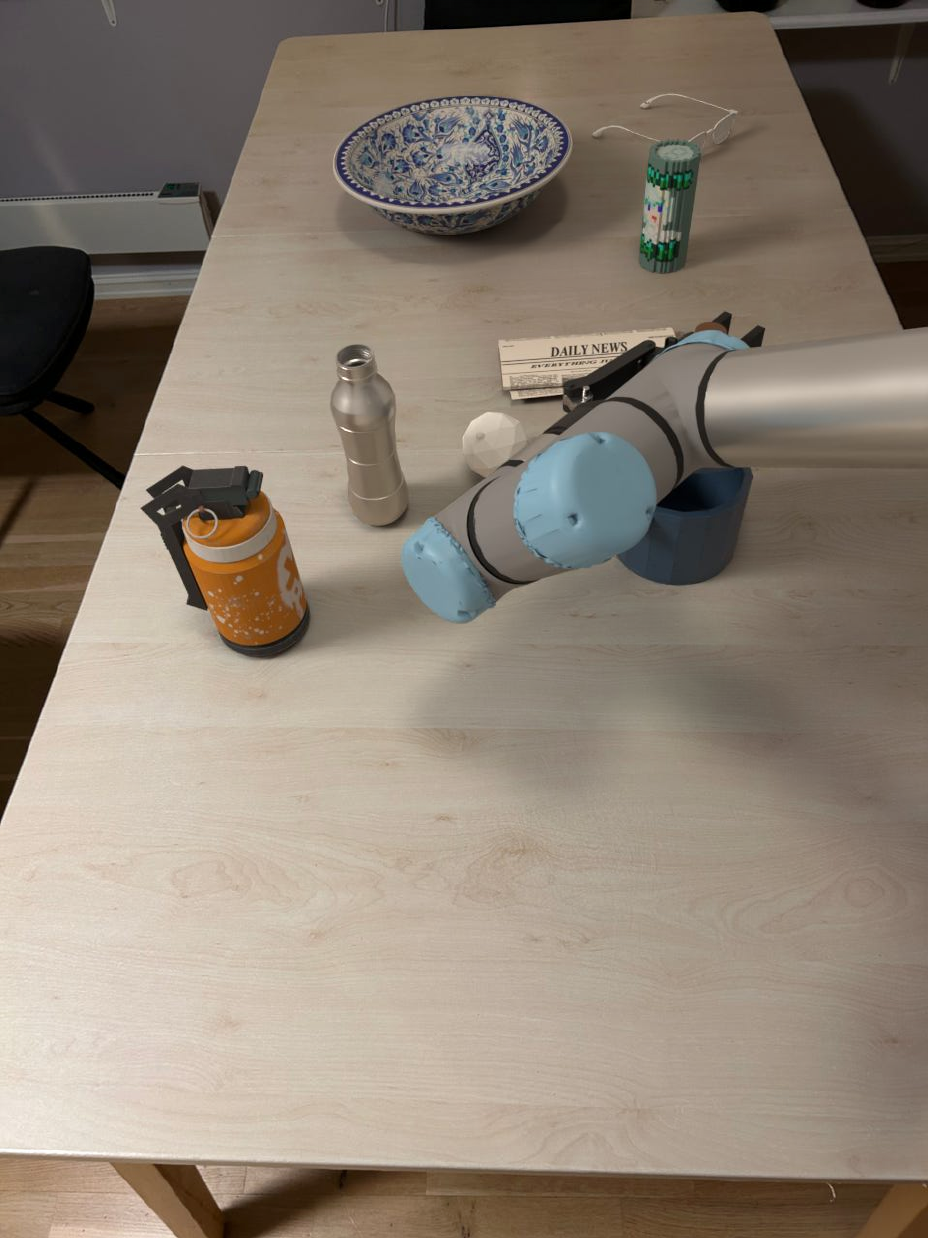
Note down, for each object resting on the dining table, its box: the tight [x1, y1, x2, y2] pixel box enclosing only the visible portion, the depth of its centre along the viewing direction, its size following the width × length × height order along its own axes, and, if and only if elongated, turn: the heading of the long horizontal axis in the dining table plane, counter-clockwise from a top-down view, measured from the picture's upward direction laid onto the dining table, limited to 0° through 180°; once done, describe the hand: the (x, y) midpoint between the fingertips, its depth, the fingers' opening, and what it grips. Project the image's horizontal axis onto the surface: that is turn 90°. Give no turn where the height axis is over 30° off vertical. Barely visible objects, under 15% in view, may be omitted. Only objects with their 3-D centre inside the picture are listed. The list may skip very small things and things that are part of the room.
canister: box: [139, 465, 311, 657], centre depth 84 cm, size 9×11×20 cm
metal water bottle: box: [329, 343, 409, 527], centre depth 93 cm, size 6×7×20 cm
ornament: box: [461, 411, 529, 479], centre depth 101 cm, size 7×7×8 cm
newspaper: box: [497, 327, 677, 400], centre depth 114 cm, size 23×12×2 cm, turn 92°
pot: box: [616, 467, 754, 586], centre depth 93 cm, size 13×18×10 cm
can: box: [638, 138, 702, 274], centre depth 123 cm, size 6×6×15 cm
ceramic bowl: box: [332, 94, 574, 236], centre depth 136 cm, size 34×34×10 cm
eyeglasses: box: [592, 93, 739, 153], centre depth 150 cm, size 15×18×4 cm
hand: (741, 333), depth 82 cm, fingers closed on lid, 3 cm apart
